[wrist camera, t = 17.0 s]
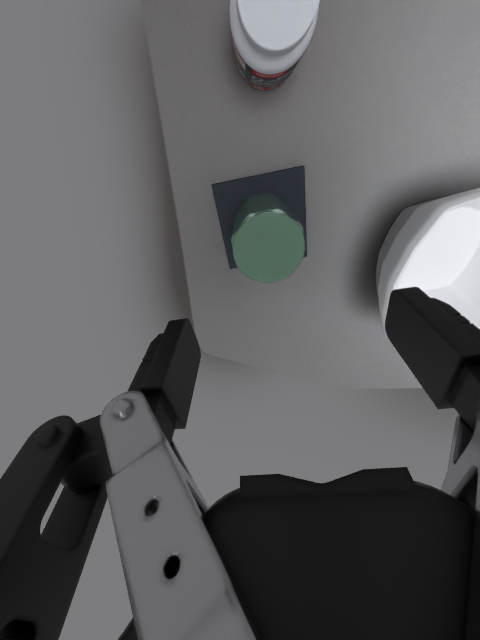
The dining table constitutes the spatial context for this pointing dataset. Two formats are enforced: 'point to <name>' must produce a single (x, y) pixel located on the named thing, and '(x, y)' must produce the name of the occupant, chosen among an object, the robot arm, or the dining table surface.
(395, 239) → the bowl
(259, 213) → the cup
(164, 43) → the dining table surface
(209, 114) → the dining table surface
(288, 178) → the coaster
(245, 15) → the pill bottle
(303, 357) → the dining table surface
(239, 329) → the dining table surface
